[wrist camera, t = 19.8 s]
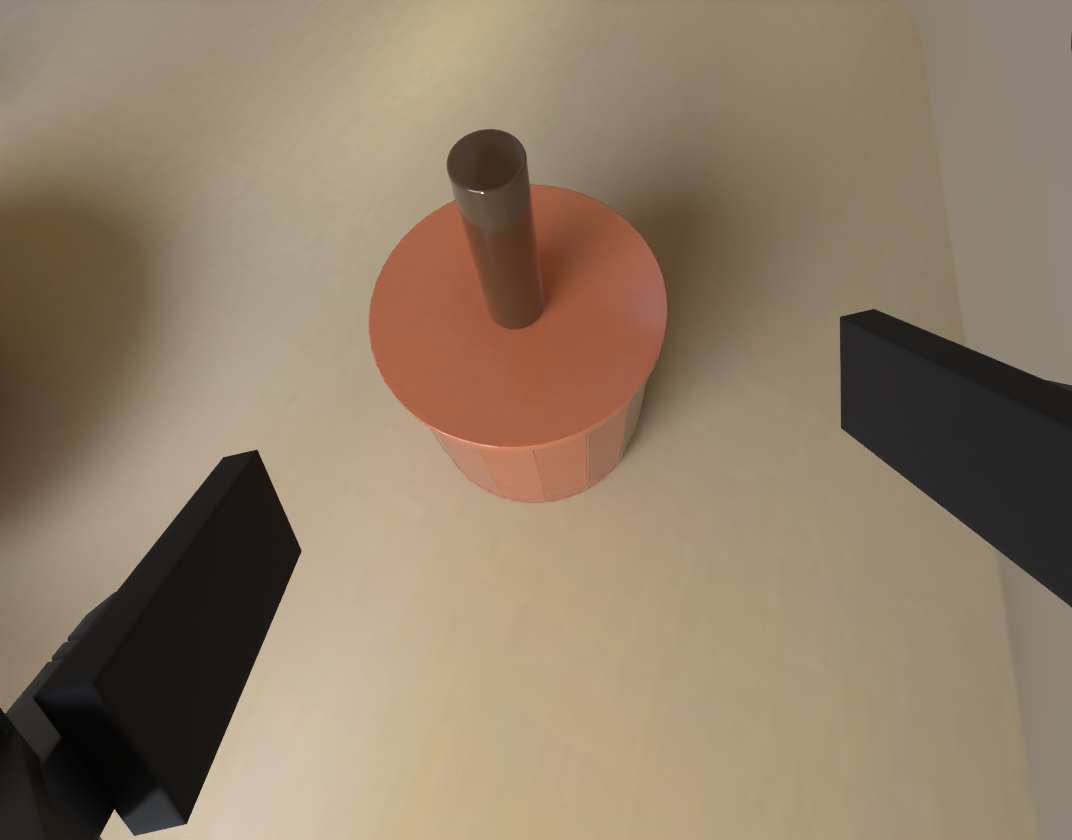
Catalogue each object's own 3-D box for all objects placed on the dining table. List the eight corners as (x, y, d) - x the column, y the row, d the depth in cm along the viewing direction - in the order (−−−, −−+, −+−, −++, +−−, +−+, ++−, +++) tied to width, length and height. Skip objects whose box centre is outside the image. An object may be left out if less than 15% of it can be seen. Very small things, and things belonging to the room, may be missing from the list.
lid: (711, 258, 30) (767, 75, 21) (583, 509, 27) (580, 425, 17) (466, 166, 33) (418, -31, 24) (321, 378, 30) (195, 246, 20)
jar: (670, 363, 41) (699, 255, 30) (581, 539, 37) (578, 490, 26) (498, 290, 43) (468, 167, 33) (401, 447, 40) (331, 368, 29)
